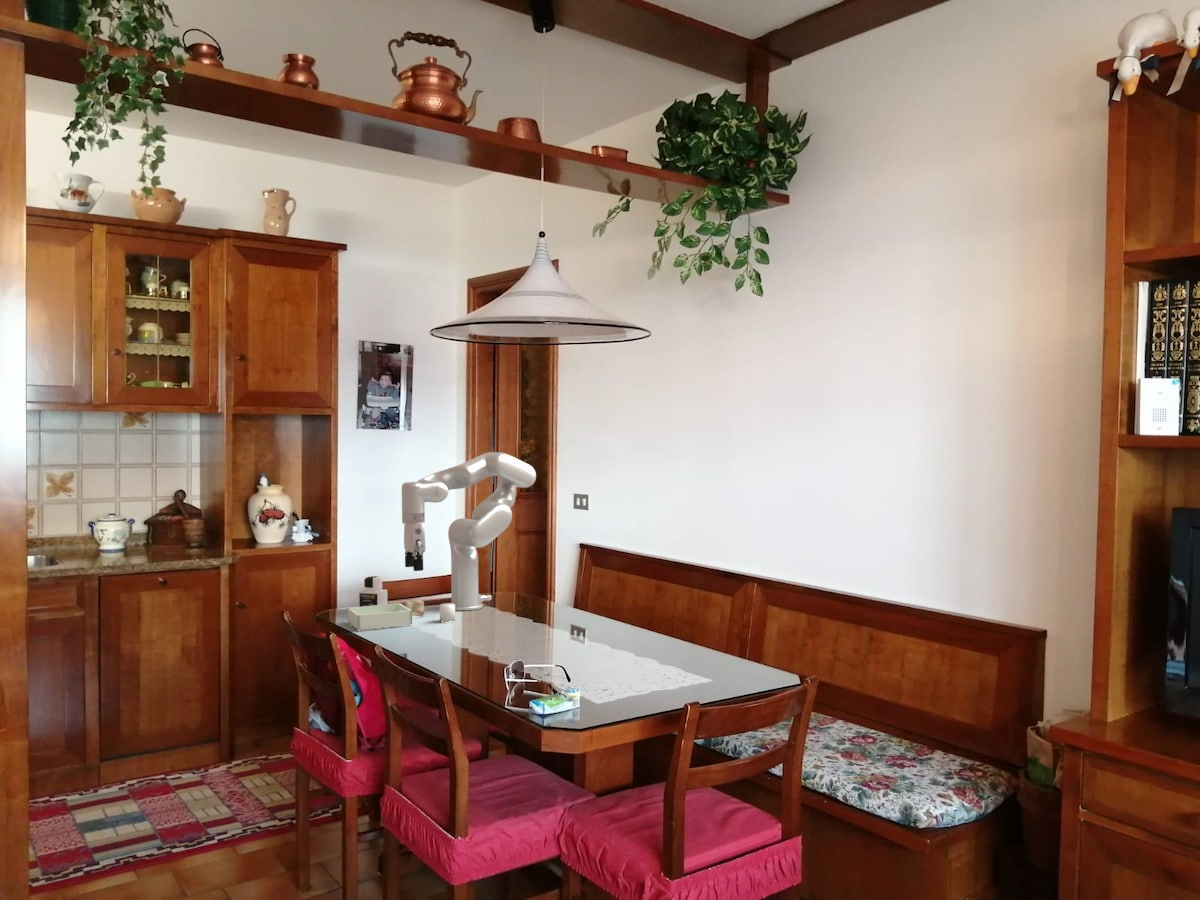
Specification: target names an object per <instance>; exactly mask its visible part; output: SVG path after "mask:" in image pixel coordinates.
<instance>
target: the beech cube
mask: <svg viewBox="0 0 1200 900" xmlns="http://www.w3.org/2000/svg"><path fill="white" fill-rule="evenodd" d="M404 602H405V603H404V606H406V607H407V608H409V609H411V610H412V616H423V615H424V616H425V602H424V601H423V600H420V599H414V600H405V601H404Z"/></svg>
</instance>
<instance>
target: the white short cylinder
mask: <svg viewBox="0 0 1200 900" xmlns="http://www.w3.org/2000/svg"><path fill="white" fill-rule="evenodd" d="M440 621H443V622H449V621H455V622H456V610H455V604H453V603H452V602H450V603H448V602H447V603H441V604H439V622H440Z"/></svg>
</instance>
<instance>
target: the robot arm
mask: <svg viewBox="0 0 1200 900" xmlns="http://www.w3.org/2000/svg"><path fill="white" fill-rule="evenodd" d="M491 477H497V479H496V481H497V484H496V489H495V490H494V491H493V492H492V493H491V494H490V495H489V496H487V498H485V499H484V500H483V501H481V502H480V503H479V504H478V505H476V507H474V509H473V511H472V514H471V518H466V517H465V518H464V517H463V518H458V519H455V520H453V521H452V522H451V524H450V525H449V527H448V529H447V530H448V532H447V535H448V537H447V538H448V541H449V547H450V561H451V562H450V563H451V564H450V568H451V569H450V570H451V574H450V575H451V578H450V579H451V582H450V583H451V590H450V591H451V603H453V604H455V611H474V610H479V609H483V607H484V604H483V603H484V601H485V602H486V601H492V598H493V597H492V595H491V594H487V595H485V594H481V593H479V554H478V550H477V548H478V549H479V548H483V547H485V546H488V545H489V544H490V543H492V542H493V541H494V540H495V539H496V538H498V536H500V534H502V533H503V532H504V531H505V530H506V529H508V527H509V526H510V524H511V523H512V520H513V519H512V518H513V512H512V508H513V506H514V504H515V501H516V494H517V493H516V491H517V490H516V488H530V487H531V486H533V485H534V483H535V482H536V479H537V473H536V470H535V469H534V467H533V466H532V465H531V464H529V463H526V462H524V461H523V460H521V459H518V458H516V457H515V456H513V455H510V454H509V453H505V452H498V451H497V452H493V451H492V452H491V451H490V452H485V453H482V454H481V455H478V456H476V457H473V458H472V459H469V460H467V461H465V462H463V463H461V464H458V465H455V466H453V467H452V466H451V467H449V468H445V469H442V470H438V471H437V472H433V473H430V474H429V475H426V476H425V477H422V478H420V479H419V480H417V481H407V482H404V483H402V485H401V522H402V524H403V525H404V526H403V546H404V547H403V548H404V567H405V568H413V571H414V572H420V571H424V553H425V552H426V535H425V527H424V526H425V525H424V523H426V522H425V521H426V520H425V517H426V516H425V512H426V511H425V503H434V504H435V503H436V504H437V503H441V502H442V501H443V502H444V500H446V499H447V497H448V495H449V491H451V490H459V489H466V488H469V487H472V486H474V485H475V484H478V483H480V482H482V481H483V480H486V479H488V478H491Z"/></svg>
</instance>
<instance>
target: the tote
mask: <svg viewBox="0 0 1200 900" xmlns="http://www.w3.org/2000/svg"><path fill="white" fill-rule="evenodd" d="M346 609H347V610H346V611H347V613H346V615H347V617H346V618H347V619H346V621H347V622H348V623H349V624H350V625H352V626H353V627H354V628H356V629H357V630H360V631H359V632H364V631H363V630H368V631H374V629H377V630H383V629H382V628H386V629H389V628H388V627H394V626H402V625H410V624H412V625H413V618H412V610H411V609H409V608H407V607H406V606H405V604H402V603H400V602H397V603H388V604H384V605H373V606H363V607H360V606H353V607H347V608H346ZM348 623H347V624H348ZM349 624H348V625H349ZM350 625H349V626H350ZM352 626H351V627H352ZM353 627H352V628H353ZM354 628H353V629H354ZM357 630H356V631H357Z"/></svg>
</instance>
